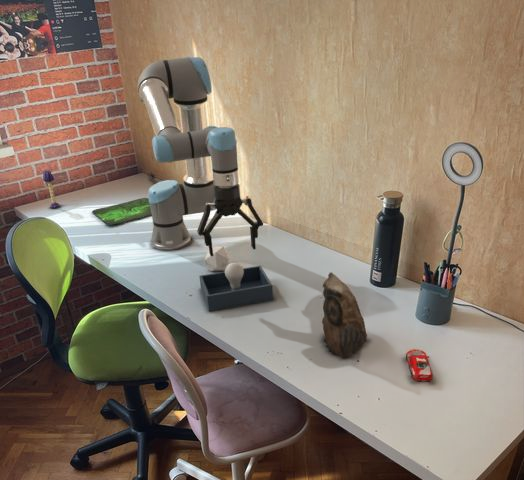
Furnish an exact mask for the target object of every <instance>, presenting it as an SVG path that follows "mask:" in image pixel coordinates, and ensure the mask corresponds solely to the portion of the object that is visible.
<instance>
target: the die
mask: <svg viewBox="0 0 524 480" xmlns="http://www.w3.org/2000/svg"><path fill="white" fill-rule="evenodd" d="M212 248H213V256H211V255H210V253H209V247H208V248H207V252H206V254H205V258H204V262H205V264H206V266H207V268H208V269H209V271H210V272H224V271H225V269H226V267H227V265H229V264H228V263H229V260H230V256H229V253H228V252H227V250H226V248H225V246H212Z"/></svg>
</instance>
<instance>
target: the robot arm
mask: <svg viewBox="0 0 524 480" xmlns="http://www.w3.org/2000/svg"><path fill="white" fill-rule="evenodd" d="M212 87H213V86H212V79H211V76H210V72H209V69H208V66H207V64H206V62H205V60H204V59H203V58H202V57H200V56H191V57H190V56H186V57H178V58H171V59H165V60H164V59H160V60H156V61H154V62H152V63H150V64H148V65H147V66H146V67H145V68H144V69H143V70H142V72H141V73H140V75H139V78H138V81H137V87H136V88H137V94H138V97H139V100H140V102H141V103H142V104H143V105H145V109H146V111H147V115H148V117H149V120H150V123H151V125H152V128H153V131H154V134H155V136H153V137H152V139H151V141H152V142H151V144H152V151H153V155H154V158H155V161H156V162H157V163H159V164H161V163H173V162H179V161H184V162H185V170H186V174H185V175H184V176H183V178H182V179H183V182H182V183H179V181H177V180H175V179H166V180H162V181H159V182H157V181H156V180H155V179H154V178H153V177H152V176H153V175H152V172H149V179H150V180H151V181H152V182H153V183H154V184H153V185H151V186H150V187H149V189H148V191H147V194H148V199H149V203H150V207H151V213H152V215H151V218H152V225H153V226H152V232H151V239H150V241H151V246H152V247H153V248H154V249H156V250H159V251H175V250H180V249H183V248H184V247H186V246H188V245H189V244H190V243H191V241H192V239H191V234H190V232H189V230H188V228H187V226H186V224H185V221H184V216H190V215H195V214H202V217H201V220H200V222H199V225H198V227H197V230H196V232H197V234H198V236H203V240H204V244H205V246H206V247H208V248H209V253H210V255H211V256H213V248H212V247H213V239H212V235H211V233H212V231H213V230H214V229H215V227H216V225H217V224H218V222H219V221H220V220H221V219H222V218H223V217H229V216H236V215H237V214H238V215H239V216H240V217H241V218H243V220H244V221H246V222H247V223H248V224H249V225H250V226H249V231H250V233H249V234H250V246H251V248H252V250H256V249H257V247H256V239H258V237H259V228H260V227H263V226H264V222H263V221H262V219H261V218H260V216H259V214H258V212H257V211H256V209H255V207H254V206H253V202H252V199H251V197H250V196H249V195H247V196H245V197H244V198H241V188H240V187H241V186H240V185H241V184H239V183H240V175H239V163H238V161H239V160H238V149H237V145H238V144H237V143H238V140H237V137H236V131H235V129H234V128H233V127H228V126H219V127H218V126H216V125H208V126H206V117H205V116H206V115H205V105H206V103H207V102H208V95H209V96H210V94H212V93H213V90H212ZM170 99H172V100H173V104H174V105H175V106H177V108H178V110H179V117H180V118H179V119H180V125H179V122H178V120H177V117H176V115H175V113H174V109H173V107H172V105H171V102H170ZM180 127H181V128H180ZM209 159H210V160H209ZM210 161H211V171H212V172H211V171H210ZM243 204H244V205H245V206H247V208H248V209H249V211H250V213H251V214H252V215H253V218H254V219H255V220H256V221H254V220H253V219H252V218H251V217H250V216H249V215H248V214H247V213H245V212H244V211H243V209H241V207H242V206H243ZM213 211H215V212H214V215H213V216H212V218H211V219H210V215H211V212H213ZM209 219H210V220H209ZM208 220H209V222H208Z"/></svg>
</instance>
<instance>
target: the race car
mask: <svg viewBox="0 0 524 480" xmlns="http://www.w3.org/2000/svg"><path fill="white" fill-rule="evenodd" d="M429 358H430V356H429V355H427V353H426V352H425V351H423V350H422V349H417V348H413V349H410V350H408V351H407V352H406V353H405V360H406V363H407V366H408V369H409V373H410V377H411V379H412V380H413V381H414V382H415V383H418V384H419V383H421V384H424V383H425V384H426V383H432V381H433V379H434V378H433V377H434V376H433V375H434V374H433V370H432V367H431V365H430V360H429Z"/></svg>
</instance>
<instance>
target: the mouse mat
mask: <svg viewBox="0 0 524 480" xmlns="http://www.w3.org/2000/svg"><path fill="white" fill-rule="evenodd" d="M91 214H92V215H94V216H95V217H96V218H98V219H99V220H100V221H101V222H102V223H104V224H105V225H106V226H116V225H119V224H123V223H128V222H131V221H134V220H135V221H136V220H139V219H142V218H147V217H151V216H152V213H151V207H150V203H149V198H147V197H142V198H138V199H133V200H130V201H126V202H121V203H118V204H113V205H110V206H106V207H105V206H104V207H100V208H96V209H93V210H92V211H91Z"/></svg>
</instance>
